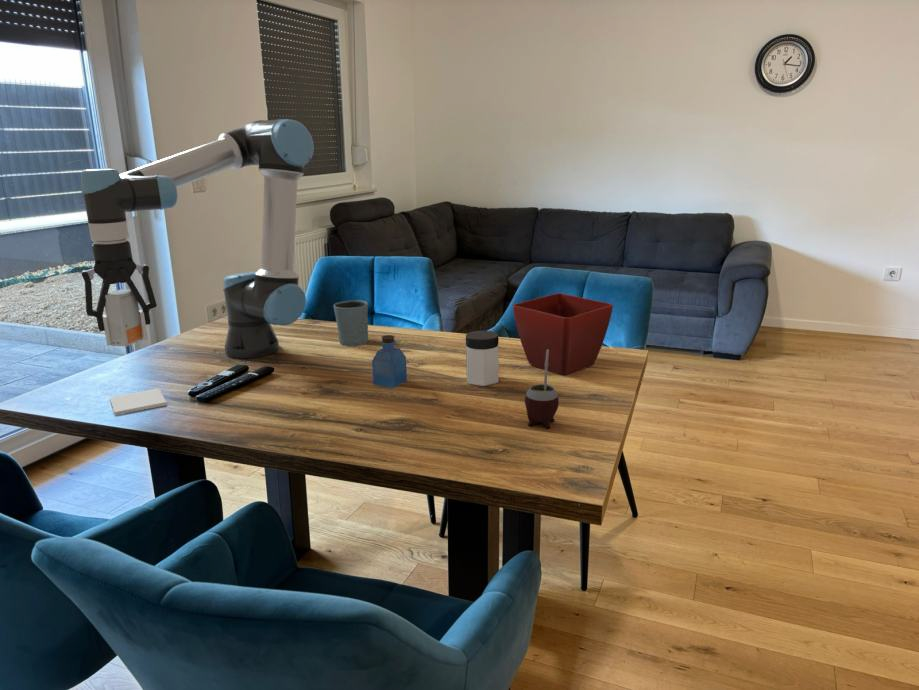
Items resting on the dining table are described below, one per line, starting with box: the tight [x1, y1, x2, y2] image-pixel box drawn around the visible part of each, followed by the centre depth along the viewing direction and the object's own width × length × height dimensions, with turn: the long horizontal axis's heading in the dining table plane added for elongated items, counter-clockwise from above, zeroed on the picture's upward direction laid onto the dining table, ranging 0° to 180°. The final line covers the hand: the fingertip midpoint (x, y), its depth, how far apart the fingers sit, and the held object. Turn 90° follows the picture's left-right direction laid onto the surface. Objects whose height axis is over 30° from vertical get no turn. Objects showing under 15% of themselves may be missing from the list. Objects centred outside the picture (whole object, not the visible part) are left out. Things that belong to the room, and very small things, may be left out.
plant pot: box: [512, 292, 614, 376], centre depth 177 cm, size 19×19×17 cm
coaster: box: [109, 388, 168, 416], centre depth 159 cm, size 11×11×1 cm
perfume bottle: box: [371, 334, 408, 389], centre depth 168 cm, size 6×6×12 cm
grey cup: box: [333, 299, 369, 347], centre depth 202 cm, size 10×10×12 cm
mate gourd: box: [524, 349, 560, 430], centre depth 142 cm, size 8×8×15 cm
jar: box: [465, 330, 500, 387], centre depth 168 cm, size 9×8×12 cm
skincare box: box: [104, 288, 144, 347], centre depth 153 cm, size 6×4×12 cm
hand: (127, 341), depth 154 cm, fingers closed on skincare box, 7 cm apart
